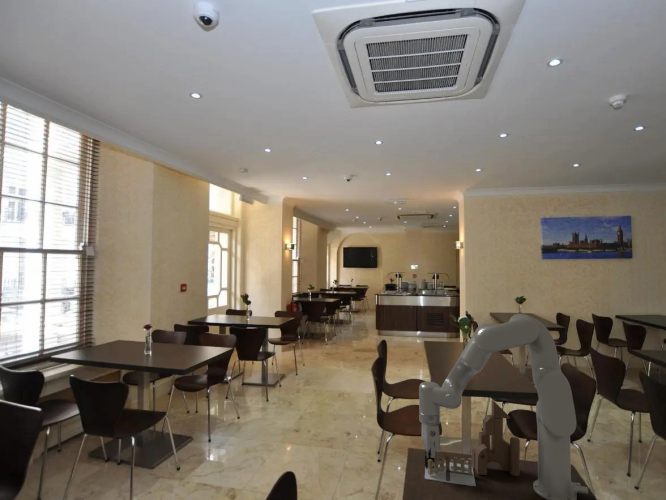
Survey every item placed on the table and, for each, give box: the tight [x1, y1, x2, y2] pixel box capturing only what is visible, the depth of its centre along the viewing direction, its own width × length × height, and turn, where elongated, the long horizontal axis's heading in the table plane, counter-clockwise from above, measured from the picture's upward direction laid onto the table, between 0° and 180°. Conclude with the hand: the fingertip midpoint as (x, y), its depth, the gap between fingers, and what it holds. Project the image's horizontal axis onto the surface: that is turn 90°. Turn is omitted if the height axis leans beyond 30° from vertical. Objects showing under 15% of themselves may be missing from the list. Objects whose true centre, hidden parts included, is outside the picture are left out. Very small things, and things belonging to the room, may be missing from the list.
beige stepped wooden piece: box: [428, 454, 451, 475], centre depth 140 cm, size 9×1×5 cm, turn 113°
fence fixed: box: [450, 456, 472, 475], centre depth 140 cm, size 7×1×6 cm, turn 75°
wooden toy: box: [471, 399, 521, 477], centre depth 142 cm, size 15×7×25 cm, turn 88°
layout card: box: [424, 461, 477, 487], centre depth 141 cm, size 17×14×1 cm
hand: (429, 467), depth 142 cm, fingers closed
